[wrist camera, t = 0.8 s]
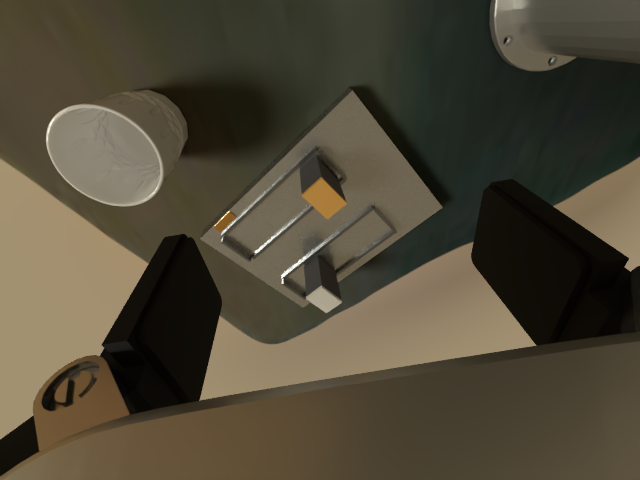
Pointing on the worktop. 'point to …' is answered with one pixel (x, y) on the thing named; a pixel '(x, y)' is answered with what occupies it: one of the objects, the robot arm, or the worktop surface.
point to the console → (309, 224)
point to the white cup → (118, 145)
